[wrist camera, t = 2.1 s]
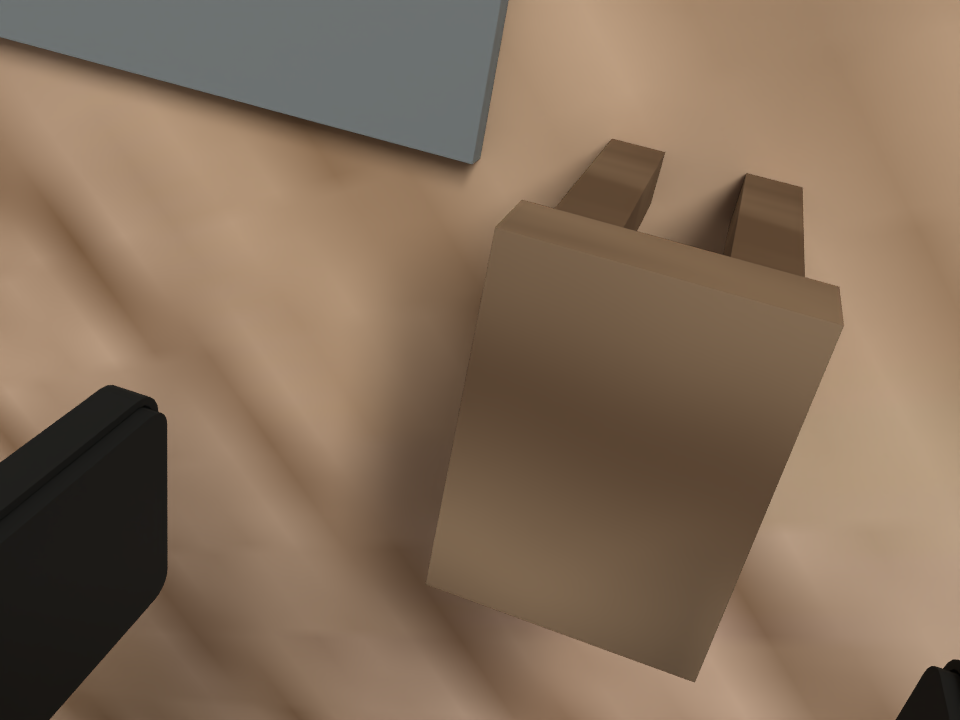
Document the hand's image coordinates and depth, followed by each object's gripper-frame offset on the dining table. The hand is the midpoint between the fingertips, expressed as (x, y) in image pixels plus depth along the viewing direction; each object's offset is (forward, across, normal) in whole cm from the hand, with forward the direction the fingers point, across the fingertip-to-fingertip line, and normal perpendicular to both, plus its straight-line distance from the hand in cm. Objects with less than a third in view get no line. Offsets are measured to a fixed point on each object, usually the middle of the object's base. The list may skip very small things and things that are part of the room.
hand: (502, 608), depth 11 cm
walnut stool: (+12, -1, +1) cm, 12 cm away
